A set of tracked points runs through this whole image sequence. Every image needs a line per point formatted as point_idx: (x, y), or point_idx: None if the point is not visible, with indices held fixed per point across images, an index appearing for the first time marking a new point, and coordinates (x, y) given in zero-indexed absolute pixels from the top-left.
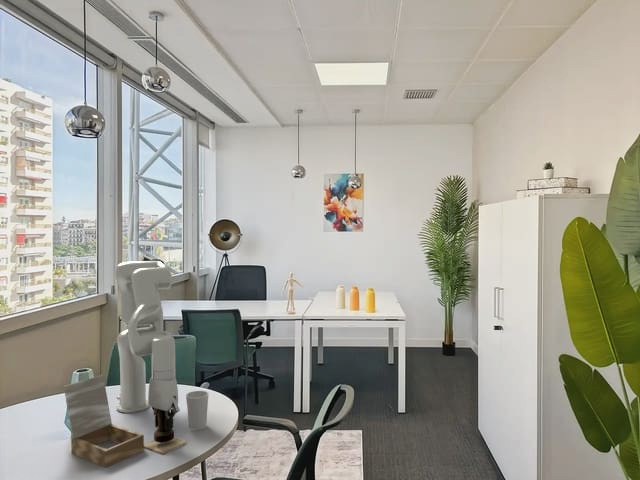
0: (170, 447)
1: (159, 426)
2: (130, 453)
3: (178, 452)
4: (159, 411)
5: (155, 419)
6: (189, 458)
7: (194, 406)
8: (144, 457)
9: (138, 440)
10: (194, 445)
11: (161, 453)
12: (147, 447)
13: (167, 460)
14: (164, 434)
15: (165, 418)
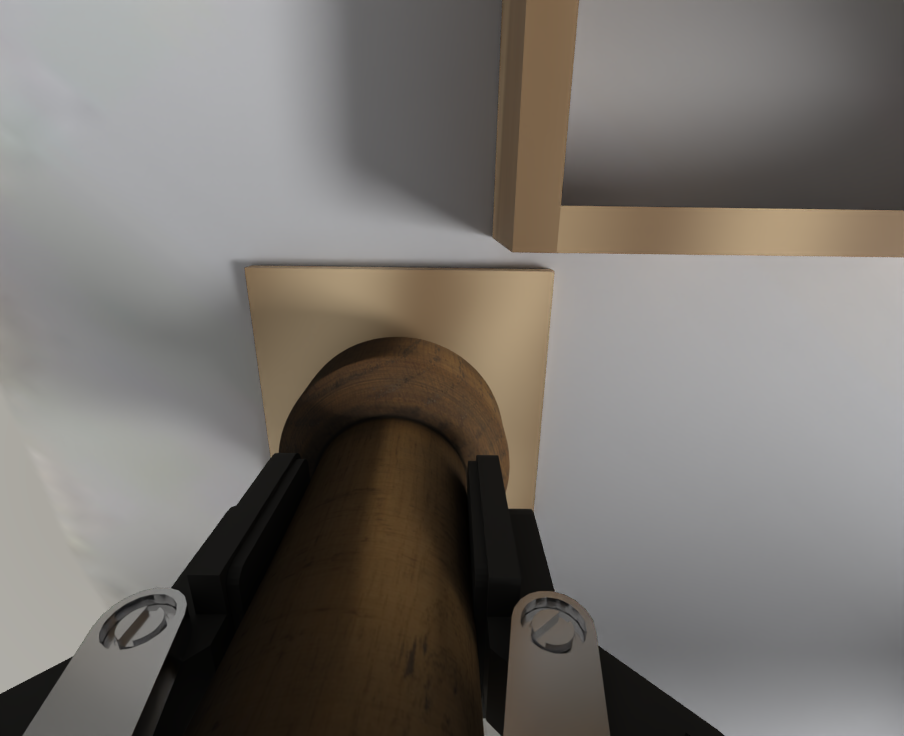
0: (289, 383)
1: (381, 457)
2: (503, 40)
3: (185, 371)
4: (301, 702)
5: (499, 526)
6: (5, 341)
7: None
8: (350, 119)
9: (511, 154)
10: (200, 519)
11: (271, 267)
12: (477, 271)
13: (111, 204)
14: (303, 414)
15: (217, 592)
